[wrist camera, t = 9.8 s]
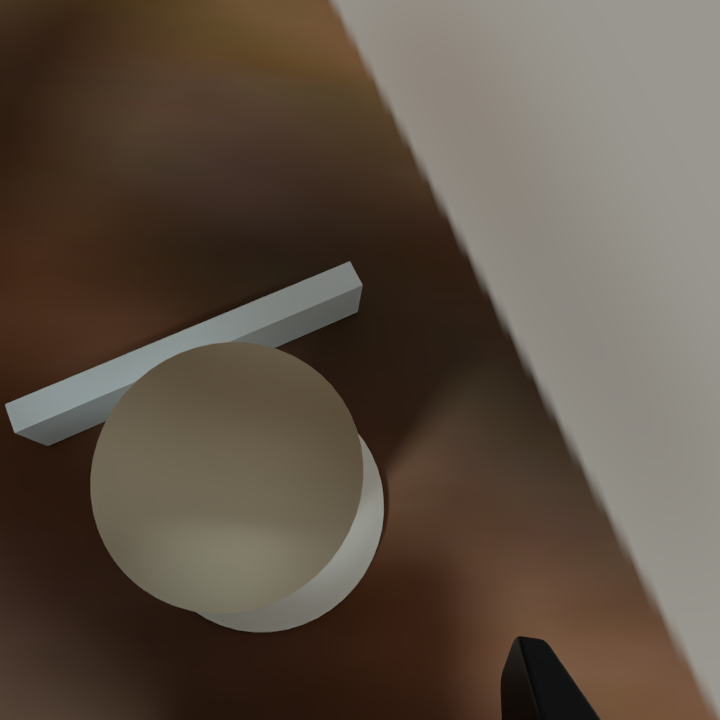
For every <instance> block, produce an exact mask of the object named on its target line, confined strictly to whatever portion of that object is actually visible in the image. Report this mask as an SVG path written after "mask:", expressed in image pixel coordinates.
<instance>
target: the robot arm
mask: <svg viewBox="0 0 720 720" xmlns="http://www.w3.org/2000/svg"><path fill="white" fill-rule="evenodd" d="M501 711H502V720H600V718H599V717H598V715H597V714H596V712H595V711H594V709H593V708H592V706H591V705H590V704H589V702H588V701H587V699H586V698H585V696H584V695H583V693H582V692H581V691H580V689H579V688H578V686H577V685H576V683H575V682H574V680H573V679H572V678H571V676H570V675H569V673H568V672H567V670H566V669H565V667H564V666H563V665H562V663H561V662H560V660H559V659H558V657H557V656H556V654H555V653H554V652H553V650H552V649H551V647H550V646H549V645H548V643H546V642H545V641H544V640H541V639H536V638H529V637H523V636H519V637H517V638H516V639H515V640H514V642H513V644H512V647H511V650H510V652H509V655H508V658H507V661H506V664H505V666H504V669H503V672H502V677H501Z"/></svg>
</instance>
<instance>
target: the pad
mask: <svg viewBox="0 0 720 720" xmlns="http://www.w3.org/2000/svg"><path fill="white" fill-rule="evenodd" d="M358 436H359V439H360V443H361V449H362V457H363V485H362V493H361V499H360V502H359V506H358V510H357V514H356V517H355V519H354V521H353V524H352V526H351V529H350V531H349V533H348V535H347V537H346V538H345V540H344V542H343V544H342V545H341V547H340V549H339V550H338V551H337V553H336V554H335V555H334V557H333V558H332V559H331V561H330V562H329V563H328V564H327V565H326V566H325V567H324V568H323V569H322V570H321V571H320V573H319V574H318V575H317V576H316V577H314V578H313V579H312V580H311V581H309V582H308V583H307V584H305V585H304V586H303V587H302V588H300V589H299V590H297V591H295V592H294V593H292V594H290V595H289V596H287V597H285V598H283V599H281V600H279V601H276V602H274V603H272V604H270V605H267V606H264V607H260V608H257V609H253V610H250V611H244V612H237V613H230V614H209V613H202V612H197V613H198V614H200V615H201V616H203V617H204V618H206V619H208V620H210V621H212V622H215V623H217V624H219V625H221V626H225V627H228V628H232V629H235V630H240V631H248V632H274V631H281V630H287V629H290V628H294V627H297V626H301V625H303V624H306V623H308V622H310V621H312V620H314V619H317V618H318V617H320V616H322V615H323V614H325V613H326V612H328V611H330V610H331V609H332V608H334V607H335V606H336V605H337V604H339V603H340V602H341V601H342V600H343V599H344V598H345V597H346V596H347V595H348V594H349V593H350V592H351V591H352V590H353V589H354V588H355V587H356V585H357V584H358V582H359V581H360V580H361V578H362V577H363V575H364V574H365V572H366V570H367V569H368V567H369V565H370V563H371V561H372V559H373V557H374V554H375V552H376V549H377V546H378V543H379V539H380V535H381V531H382V525H383V517H384V497H383V490H382V483H381V479H380V475H379V472H378V468H377V466H376V463H375V461H374V458H373V456H372V454H371V452H370V450H369V449H368V447H367V445H366V443H365V442H364V440H363V439H362V438H361V436H360V435H359V434H358Z"/></svg>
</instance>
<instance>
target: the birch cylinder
mask: <svg viewBox="0 0 720 720" xmlns="http://www.w3.org/2000/svg"><path fill="white" fill-rule="evenodd" d="M90 480H91V502H92V509H93V514H94V518H95V521H96V525H97V528H98V531H99V533H100V536H101V538H102V540H103V542H104V545H105V547H106V548H107V550H108V552H109V553H110V555H111V556H112V558H113V560H114V561H115V563H116V564H117V565H118V566H119V567H120V568H121V570H122V571H123V572H124V573H125V574H126V575H127V576H128V577H129V578H130V579H131V580H132V581H133V582H134V583H136V584H137V585H138V586H139V587H140V588H141V589H143V590H145V591H146V592H148V593H149V594H151V595H152V596H154V597H155V598H157V599H159V600H162V601H164V602H166V603H168V604H171V605H173V606H176V607H179V608H183V609H186V610H190V611H195V612H202V613H209V614H230V613H237V612H244V611H250V610H253V609H257V608H260V607H264V606H267V605H270V604H272V603H274V602H276V601H279V600H281V599H283V598H285V597H287V596H289V595H290V594H292V593H294V592H295V591H297V590H299V589H300V588H302V587H303V586H304V585H305V584H307V583H308V582H309V581H311V580H312V579H313V578H314V577H316V576H317V575H318V574H319V573H320V571H321V570H322V569H323V568H324V567H325V566H326V565H327V564H328V563H329V562H330V561H331V559H332V558H333V557H334V555H335V554H336V553H337V551H338V550H339V549H340V547H341V545H342V544H343V542H344V540H345V538H346V537H347V535H348V533H349V531H350V529H351V526H352V524H353V521H354V519H355V517H356V514H357V510H358V506H359V502H360V499H361V493H362V485H363V457H362V449H361V443H360V439H359V436H358V432H357V428H356V426H355V423H354V421H353V419H352V416H351V414H350V412H349V410H348V408H347V407H346V405H345V403H344V401H343V400H342V398H341V397H340V396H339V394H338V393H337V392H336V390H335V389H334V388H333V386H332V385H331V384H330V383H329V382H328V381H327V380H326V379H325V378H324V377H323V376H322V375H321V374H320V373H318V372H317V371H316V370H314V369H313V368H312V367H311V366H309V365H308V364H306V363H305V362H303V361H301V360H300V359H298V358H296V357H294V356H292V355H290V354H288V353H285V352H283V351H281V350H278V349H275V348H271V347H268V346H264V345H259V344H252V343H242V342H226V343H216V344H209V345H205V346H200V347H196V348H193V349H190V350H187V351H184V352H181V353H179V354H177V355H175V356H173V357H171V358H169V359H167V360H165V361H163V362H162V363H160V364H158V365H157V366H155V367H154V368H152V369H151V370H149V371H148V372H147V373H146V374H144V375H143V376H142V377H141V378H140V379H138V380H137V381H136V382H135V383H134V384H133V385H132V386H131V387H130V388H129V389H128V390H127V392H126V393H125V394H124V395H123V396H122V398H121V399H120V400H119V402H118V403H117V404H116V406H115V407H114V408H113V410H112V412H111V414H110V415H109V417H108V419H107V421H106V422H105V424H104V427H103V429H102V431H101V434H100V436H99V439H98V441H97V445H96V449H95V452H94V456H93V461H92V469H91V476H90Z"/></svg>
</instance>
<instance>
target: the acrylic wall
mask: <svg viewBox="0 0 720 720" xmlns="http://www.w3.org/2000/svg"><path fill="white" fill-rule="evenodd" d="M362 286H363V285H362V283H361V281H360V279H359V277H358V276H357V274H356V272H355V270H354V268H353V266H352V264H351V262H350V261H349V262H347V263H345V264H342V265H340V266H337V267H335V268H332V269H330V270H328V271H325V272H323V273H320V274H318V275H316V276H313V277H311V278H308V279H306V280H303V281H301V282H299V283H296V284H294V285H291V286H289V287H287V288H284V289H282V290H279V291H277V292H275V293H272V294H270V295H267V296H265V297H262V298H260V299H258V300H255V301H253V302H250V303H248V304H246V305H243V306H241V307H238V308H236V309H234V310H231V311H229V312H226V313H224V314H221V315H219V316H217V317H214V318H212V319H209V320H207V321H205V322H202V323H200V324H197V325H195V326H193V327H190V328H188V329H185V330H183V331H180V332H178V333H176V334H173V335H171V336H168V337H166V338H164V339H161V340H159V341H156V342H154V343H151V344H149V345H147V346H144V347H142V348H139V349H137V350H135V351H132V352H130V353H127V354H125V355H123V356H120V357H118V358H115V359H113V360H110V361H108V362H106V363H103V364H101V365H98V366H96V367H94V368H91V369H89V370H86V371H84V372H82V373H79V374H77V375H74V376H72V377H69V378H67V379H65V380H62V381H60V382H57V383H55V384H53V385H50V386H48V387H45V388H43V389H41V390H38V391H36V392H33V393H31V394H28V395H26V396H24V397H21V398H19V399H16V400H14V401H12V402H9V403H7V404H5V407H6V410H7V413H8V415H9V418H10V421H11V424H12V427H13V430H14V433H16V434H18V435H21V436H23V437H26V438H28V439H31V440H33V441H36V442H38V443H41V444H43V445H46V446H50V445H52V444H54V443H57V442H59V441H61V440H64V439H66V438H68V437H70V436H73V435H75V434H77V433H80V432H82V431H84V430H87V429H89V428H91V427H94V426H96V425H98V424H100V423H103V422H105V421H107V419H108V417H109V415H110V414H111V412H112V410H113V408H114V407H115V406H116V404H117V403H118V402H119V400H120V399H121V398H122V396H123V395H124V394H125V393H126V392H127V390H128V389H129V388H130V387H131V386H132V385H133V384H134V383H135V382H136V381H137V380H138V379H140V378H141V377H142V376H143V375H144V374H146V373H147V372H148V371H149V370H151V369H152V368H154V367H155V366H157V365H158V364H160V363H162V362H163V361H165V360H167V359H169V358H171V357H173V356H175V355H177V354H179V353H181V352H184V351H187V350H190V349H193V348H196V347H200V346H205V345H209V344H216V343H226V342H242V343H252V344H259V345H264V346H268V347H271V348H276V347H278V346H280V345H283V344H285V343H287V342H290V341H292V340H294V339H297V338H299V337H301V336H304V335H306V334H308V333H310V332H313V331H315V330H317V329H320V328H322V327H324V326H327V325H329V324H331V323H334V322H336V321H338V320H340V319H343V318H345V317H347V316H350V315H352V314H354V313H357V312H358V308H359V302H360V297H361V291H362Z"/></svg>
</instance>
